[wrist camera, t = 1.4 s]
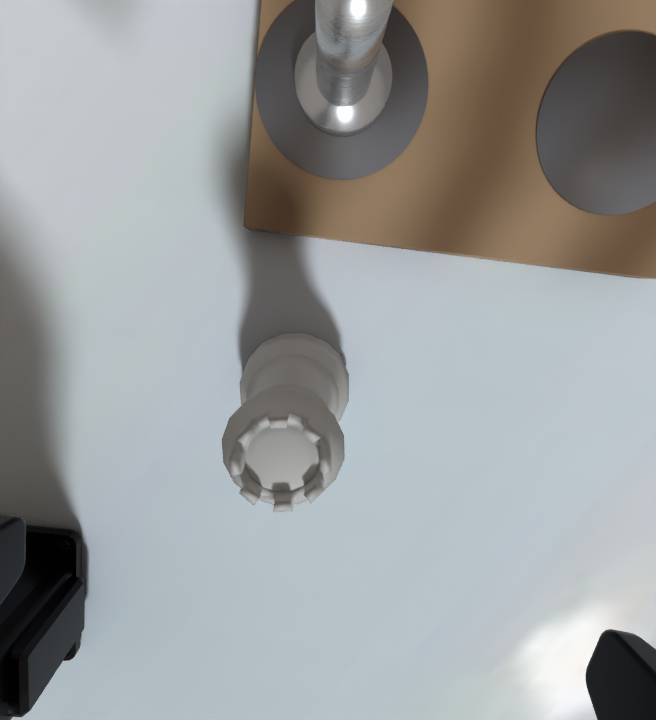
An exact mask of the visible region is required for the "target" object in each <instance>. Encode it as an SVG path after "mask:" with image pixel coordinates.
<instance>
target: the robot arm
mask: <svg viewBox="0 0 656 720" xmlns="http://www.w3.org/2000/svg"><path fill="white" fill-rule="evenodd" d="M64 540H66V541H68V542H69V543H70V545H68V544H66V543H65V541H64ZM84 602H85V583H84V581H83V579H82V577H81V537H80V536H79V534H78V533H77V532H75V531H73V530H67V529H56V528H45V527H34V526H26V523H25V521H24V519H23V518H22V517H20V516H17V515H11V514H6V513H1V512H0V720H11V718H12V717H23V716H24V715H25V714H26V713H28V712H29V711H30V710H31V709H32V707H33V706H34V704H35V702H36V701H37V699H38V698H39V696H40V695H41V693H42V692H43V690H44V689H45V687H46V686H47V684H48V683H49V681H50V680H51V678H52V677H53V675H54V673H55V672H56V670H57V669H58V667H59V666H60V664H61V663H62V661H66V660H71V659H73V657H74V656H75V655H76V653H77V652H78V650H79V649H80V634H81V632H82V631H83V629H84ZM586 684H587V689H588V692H589V695H590V698H591V701H592V704H593V707H594V710H595V713H596V716H597V719H598V720H656V649H655V648H653V647H652V646H651V645H649V644H648V643H647V642H645V641H644V640H643V639H641V638H640V637H639V636H637V635H635V634H632V633H628V632H623V631H617V630H612V629H609V630H606V631H604V632H603V633H602V634H601V636H600V638H599V641H598V643H597V645H596V648H595V650H594V652H593V655H592V657H591V659H590V662H589V664H588V666H587V670H586Z"/></svg>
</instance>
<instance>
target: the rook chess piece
mask: <svg viewBox="0 0 656 720" xmlns="http://www.w3.org/2000/svg"><path fill="white" fill-rule="evenodd" d="M240 394H241V405H242V406H241V407H240V408H239V409H238V410H237V411H236V412H235V413H234V414H233V415H232V416H231V417H230V418H229V421H228V424H227V427H226V429H225V432H224V435H223V438H222V450H223V462H224V464H225V466H226V468H227V470H228V472H229V474H230V476H231V478H232V479H233V481H234V483H235V484H236V485H237V486H239V487H240V488H241V490H240V492H239V493H240V494H241V495H242V496H243V497H244V498H246V499H247V500H248V501H249V502H250V503H252V504H253V505H255V504H256V502H257V501H258V500H261V501H264V502H267V503H269V504H272V505H274V509H273V512H284V511H293V505H294V504H300V503H302V502H305V501H307V500H308V501H309V502H310V503H312V502H313V501H314V500H315V499H316V498H317V497H318V496H319V495H320V494H321V493H322V492H323V491H324V490H325V489H326V488H327V487H328V486H329V485H330V484H332V483H333V482H334V481H335V480H336V478H337V475H338V473H339V470H340V468H341V466H342V463H343V461H344V435H343V433H342V431H341V428H340V426H339V424H338V422H339V421H340V420H341V418H342V415H343V413H344V410H345V408H346V406H347V403H348V401H349V374H348V372H347V370H346V367H345V365H344V363H343V361H342V358H341V356H340V355H339V354H338V353H337V352H336V351H335V350H334V349H333V348H332V347H331V346H330V345H329V344H328V343H327V342H326V341H324V340H322V339H319V338H316V337H314V336H311V335H309V334H306V333H284V334H281V335H278V336H276V337H274V338H272V339H269V340H267V341H265V342H263V343H262V344H261V345H260V346H259V347H258V348H257V349H256V350H255V351H254V353H253V354H252V355H251V356H250V357H249V358H248V361H247V364H246V367H245V369H244V372H243V375H242V378H241V381H240Z"/></svg>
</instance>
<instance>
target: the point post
mask: <svg viewBox="0 0 656 720" xmlns="http://www.w3.org/2000/svg"><path fill="white" fill-rule="evenodd" d="M393 1H394V0H315V19H316V31H315V32H314V33H313V34H312V35H311V36H310V37H309V38H308V39H307V40H306V41H305V43H304V44H303V46H302V48H301V50H300V52H299V54H298V57H297V61H296V65H295V87H296V95H297V100H298V103H299V106H300V108H301V110H302V113H303V114H304V116H305V117H306V119H307V120H308V121H309V122H310V123H311V124H312V125H313V126H314V127H315V128H316V129H318V130H319V131H321V132H323V133H325V134H327V135H330V136H335V137H350V136H354V135H357V134H360V133H361V132H363V131H365V130H366V129H368V128H369V127H370V126H372V125H373V124H374V123H375V121H376V120H377V119H378V118H379V116H380V114H381V113H382V111H383V109H384V107H385V104H386V102H387V99H388V97H389V93H390V90H391V85H392V67H391V62H390V58H389V55H388V53H387V50H386V48H385V47H384V45H383V43H382V40H383V36H384V33H385V29H386V26H387V22H388V18H389V15H390V11H391V8H392V4H393Z"/></svg>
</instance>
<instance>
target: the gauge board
mask: <svg viewBox="0 0 656 720" xmlns="http://www.w3.org/2000/svg"><path fill="white" fill-rule="evenodd" d="M315 31H316V19H315V0H262V1H261V13H260V26H259V39H258V52H257V64H256V72H255V90H254V103H253V115H252V128H251V141H250V154H249V166H248V179H247V192H246V205H245V217H244V227H246V228H248V229H250V230H258V231H266V232H274V233H282V234H290V235H298V236H306V237H314V238H322V239H330V240H338V241H346V242H354V243H362V244H370V245H378V246H386V247H394V248H402V249H410V250H417V251H425V252H433V253H441V254H449V255H457V256H465V257H473V258H481V259H489V260H497V261H505V262H513V263H521V264H529V265H537V266H545V267H553V268H561V269H569V270H577V271H585V272H593V273H600V274H608V275H616V276H624V277H632V278H648V279H656V0H394V1H393V4H392V8H391V11H390V15H389V18H388V22H387V26H386V29H385V33H384V36H383V40H382V43H383V45H384V47H385V48H386V50H387V53H388V55H389V58H390V62H391V67H392V85H391V90H390V93H389V97H388V99H387V102H386V104H385V107H384V109H383V111H382V113H381V114H380V116H379V118H378V119H377V120H376V121H375V123H374V124H373V125H372V126H370V127H369V128H368V129H366V130H365V131H363V132H361V133H360V134H357V135H354V136H350V137H335V136H330V135H327V134H325V133H323V132H321V131H319V130H318V129H316V128H315V127H314V126H313V125H312V124H311V123H310V122H309V121H308V120H307V119H306V117H305V116H304V114H303V113H302V110H301V108H300V106H299V103H298V100H297V95H296V87H295V65H296V61H297V57H298V54H299V52H300V50H301V48H302V46H303V44H304V43H305V41H306V40H307V39H308V38H309V37H310V36H311V35H312V34H313V33H314V32H315Z"/></svg>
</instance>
